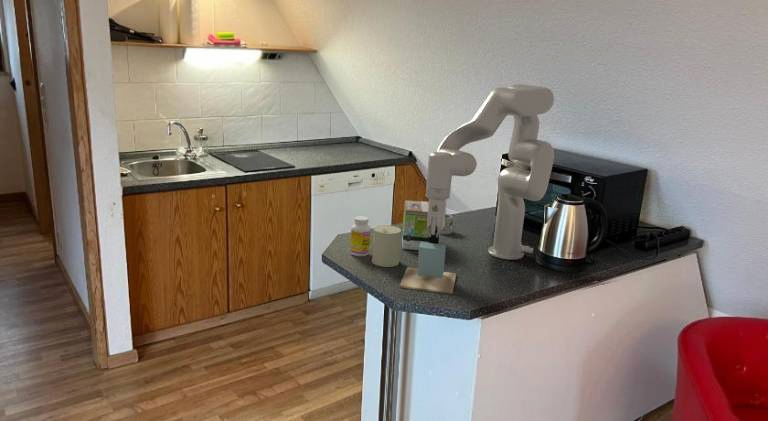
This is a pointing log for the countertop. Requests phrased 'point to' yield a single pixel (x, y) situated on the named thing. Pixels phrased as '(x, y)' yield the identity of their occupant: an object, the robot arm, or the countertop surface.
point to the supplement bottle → (360, 237)
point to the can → (386, 246)
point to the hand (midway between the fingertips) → (432, 248)
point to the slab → (431, 259)
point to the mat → (428, 282)
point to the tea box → (415, 224)
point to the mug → (447, 225)
